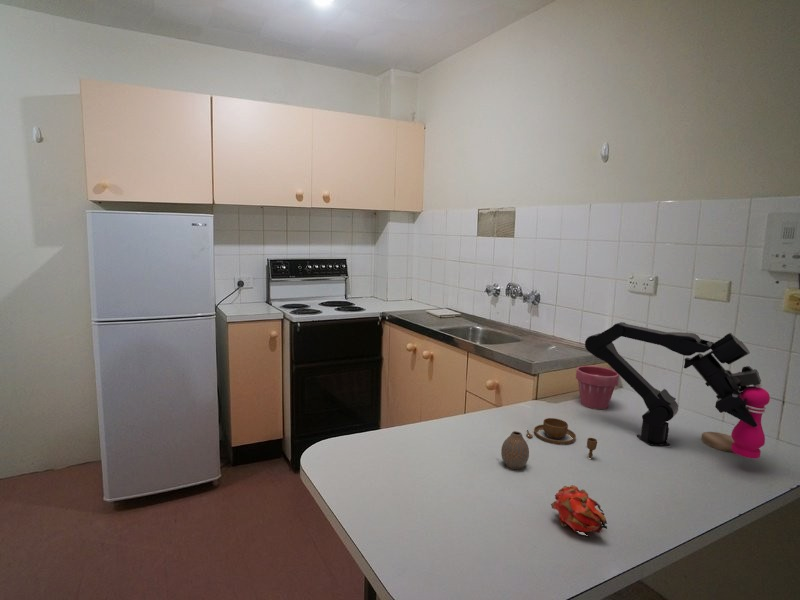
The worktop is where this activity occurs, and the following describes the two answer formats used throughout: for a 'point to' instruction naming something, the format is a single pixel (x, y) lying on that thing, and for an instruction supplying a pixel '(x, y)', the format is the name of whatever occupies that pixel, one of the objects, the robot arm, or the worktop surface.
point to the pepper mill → (743, 433)
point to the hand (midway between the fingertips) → (756, 423)
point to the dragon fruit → (578, 510)
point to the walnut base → (717, 440)
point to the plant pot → (596, 385)
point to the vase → (515, 451)
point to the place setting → (560, 433)
